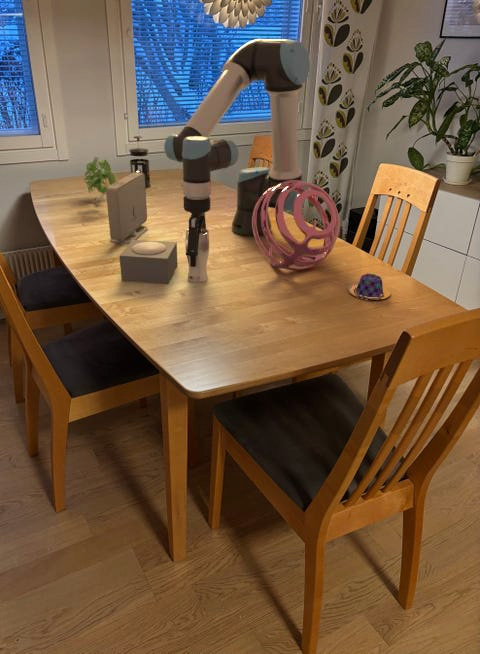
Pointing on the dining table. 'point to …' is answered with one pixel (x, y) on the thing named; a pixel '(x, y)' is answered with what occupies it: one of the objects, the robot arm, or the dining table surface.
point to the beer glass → (200, 256)
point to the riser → (149, 261)
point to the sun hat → (369, 286)
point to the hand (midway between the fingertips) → (197, 267)
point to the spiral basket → (310, 232)
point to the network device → (127, 207)
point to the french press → (144, 163)
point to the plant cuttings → (99, 176)
